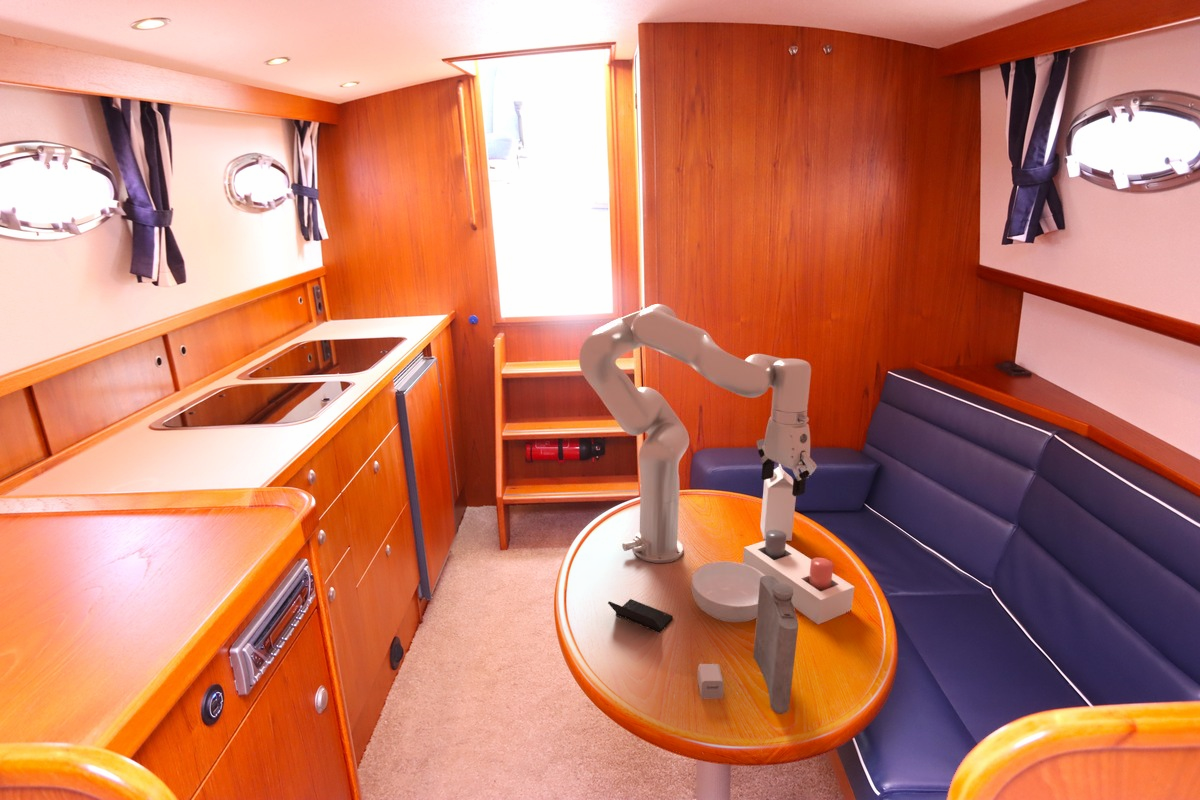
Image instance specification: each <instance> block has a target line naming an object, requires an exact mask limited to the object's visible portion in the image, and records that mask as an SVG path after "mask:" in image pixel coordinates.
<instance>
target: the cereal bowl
mask: <svg viewBox="0 0 1200 800" xmlns="http://www.w3.org/2000/svg"><path fill="white" fill-rule="evenodd" d="M762 576H765V575H764V574H763V573H761V572H760V571H758V570H757V569H755V568H753V567H750V566H748V565H745V564H743V563H740V562H735V561H728V560H721V561H719V560H718V561H713V562H708V563H705V564H703V565H701V566H699V567H698V568H696V569H695V571H694V572H693V574H692V577H691V582H690V583H691V592H692V593H691V594H692V596H693V599H694V601H695V603H696V604H697V606H699V608H700V610H702V611H703V612H704V613H706V614H707V615H709V616H711V617H712V618H714V619H717V620H720V621H723V622H729V623H742V622H748V621H752V620H754V619H757V609H758V597H759V586H760V578H761V577H762Z"/></svg>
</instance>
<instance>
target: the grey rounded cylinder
mask: <svg viewBox="0 0 1200 800" xmlns="http://www.w3.org/2000/svg"><path fill="white" fill-rule="evenodd" d="M764 541H765V551H764V554H765V555H767V556H768V557H770V558H771V559H773V560H777V559H780V558H783V557H784V556H785V546H786V544H787V541H786V534H785V533H784V532H782V531H779V530H769V531H767V532H766V539H764Z"/></svg>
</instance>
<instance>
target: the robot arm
mask: <svg viewBox="0 0 1200 800" xmlns="http://www.w3.org/2000/svg"><path fill="white" fill-rule="evenodd" d="M644 346H645V347H647V348H649V349H652V350H653V351H657V352H659V353H661V354H664V355H666V356H668V357H671V358H673V359H676V360H677V361H679V362H682V363H683V364H686V365H688V366H690V367H691V368H692V369H694V370H695V371H696V373H698V374H700V375H701V376H702V377H704V378H705V379H706V380H708V381H709V382H711V383H712V384H714V385H716V386H718V387H720V388H722V389H725V390H727V391H729V392H732V393H733V394H736V395H738V396H741V397H745V398H750V399H751V398H758V397H761V396H763V395H764V394H765V393H767V392H768V389H769V388H772V399H771V411H770V417H769V419H768V421H767V426H766V430H765V435H764V438H762V439H758V440H756V446H757V449H758V455H759V457H760V463H762V467H761V480H763V481H764V480H766V479H770V478H773V475H774V469H775V463H777V464H778V465H779V464H781V466H783V467H785V468H788V469H790V470H791V471H792V472H793V475H794V477H795V478H793V491H792V495H793V496H796V497H797V496H800V495H803V494H805V493H806V492H805V491H806V481H807V479H809V477H811V476H813V474H814V472H815V470H816V469H817V467H818V466H817V465H818V464H816V462H815V461H814V460H813V458H811V432H810V425H809V424H808V422H809V420H810V418H809V417H808V406H809V396H810V395H809V394H810V386H811V385H810V384H811V376H812V375H811V374H812V367H811V364H810V363H809V362H808V361H806V360H804V359H799V358H793V357H792V358H782V357H776V356H773V355H768V354H764V353H753V354H751V355H749V356H748V357H746V358H745V359H742V358H739V357H737V356H735V355H733V354H731V353H729V352H727V351H725V350H724V349H722V348H721V347H720V346H719V345H717V344H716V343H715V341H714V340H713V338H712V337H711V335H710V334H709V333H708V332H707V331H706V330H705V329H703V328H700V327H699V326H695V325H693V324H691V323H688V322H686V321H684V320H682V319H679V318H677V314H676V313H675V311H674V310H673V309H672V308H670V306H667V305H666V304H661V303H657V304H652V305H650V306H648V307H645V308H642V309H641V310H638V311H636V312H633V313H630V314H628V315H625V316H623V317H620V318H617V319H614V320H612V321H610V322H608V323H606V324H604V325H601V326H599V327H598V328H596V329H594V330H593V331H591V332H590V333H589V334H588V336H587V337H586V338H585V339H584V341H583V343H582V345H581V347H580V350H579V354H578V355H579V357H578V359H579V360H578V361H579V362H578V363H579V367H580V372H581V373H582V375H583V377H584V379H585V380H586V382H588V384H589V385H590V386H591V388H592V389H593V390H594V391H595V393H596V394H597V395H598V397H599V399H600V400H601V401H602V403H603V404H604V405H605V407H606V408H607V410H608V411H609V413H610V414H611V415H612V416H613V418H614V419H615V421H616V422H617V424H618V425H619V426H620V427H621V429H622V430H623V431H624V432H625V433H626V434H628V435H631V436H640V435H642V434H644V433H646V434H647V437H646V438H645V439H644V440H643V443H642V444H641V446H640V449H639V453H638V467H639V477H640V480H639V481H640V489H639V490H640V492H639V493H640V494H639V495H640V497H639V499H640V501H639V532H638V533H636V534H635V538H632V540H631V541H628V542H627V541H626V542H624V543H622V546H621V547H622V549H623V551H624V552H625V551H626V552H627V551H630V550H632V553H633V554H634V555H636V557H638V558H639V559H640V560H643V561H646V562H649V563H655V564H664V563H665V564H666V563H671V562H674V561H676V560H678V559H680V558H681V556H682V555H683V553H684V546H683V544H682V542H681V541H680V540H679V539H678V534H679V533H678V531H679V510H680V509H679V506H680V475H679V467H680V466H679V464H680V461H681V459H682V458H683V456H684V455H685V453H686V451H687V450H688V448H689V445H690V436H689V431H688V430H687V428H686V426H685V425H684V424H683V422H682V421H681V419H680V418H679V417H678V415H677V414H676V412H675V411H674V409H672V407H671V406H670V404H669V403H668V401H667V400H666V399H665V397H663V395H662V394H661V393H660V392H658V390H656V389H654V388H651V387H649V386H648V387H647V386H639V387H636V386H635V384H634V383H633V381H632V379H630V377H629V376H628V374H627V373H626V372H625V371H624V370H623V369H621V368H620V367H619V366H618V365H617V364H616V361H617V360H618V359H620V358H621V357H622V356H624V355H625V354H627V353H628V352H630V351H633V350H636V349H638V348H641V347H644ZM799 470H800V471H801V472H800V471H799Z"/></svg>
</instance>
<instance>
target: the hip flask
mask: <svg viewBox="0 0 1200 800" xmlns="http://www.w3.org/2000/svg"><path fill="white" fill-rule="evenodd" d="M792 596H793V588H792V587H791V586H789V585H787V584H782V583H779V582H778V580H777V579H776V578H774V577H772V576H762V577H761V578H760V586H759V597H758V609H757V617H756V619H755V621H756V623H755V633H754V634H755V635H754V644H753V646H754V647H753V656H752V657H753V659H754V660H753V661H755V663H756V664H757V667H759V669H760V671H761V674H762V676H763V679H764V682H765V683H766V687H767V690H768V691H767V692H768V696H769V703H770V708H771V710H772V711H773V712H775V713H777V714H783V715H784V714H787V713H788V712H789V710H790V703H791V694H792V682H793V677H794V676H793V674H794V667H795V666H794V665H795V658H796V657H795V656H796V647H797V638H798V632H799V631H798V630H799V621H798V617H797V616H798V615H797V612H796V608H794V607H793V604H792V602H791V599H792Z"/></svg>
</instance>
